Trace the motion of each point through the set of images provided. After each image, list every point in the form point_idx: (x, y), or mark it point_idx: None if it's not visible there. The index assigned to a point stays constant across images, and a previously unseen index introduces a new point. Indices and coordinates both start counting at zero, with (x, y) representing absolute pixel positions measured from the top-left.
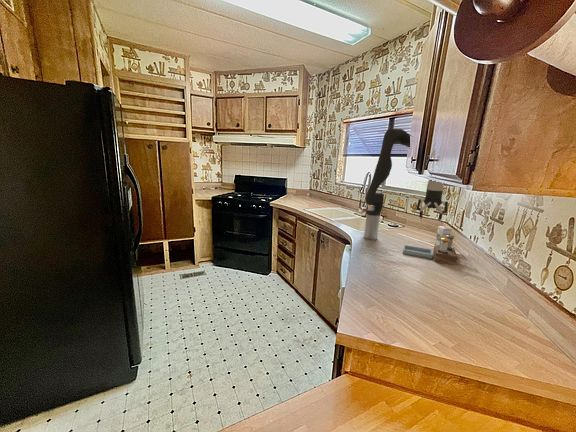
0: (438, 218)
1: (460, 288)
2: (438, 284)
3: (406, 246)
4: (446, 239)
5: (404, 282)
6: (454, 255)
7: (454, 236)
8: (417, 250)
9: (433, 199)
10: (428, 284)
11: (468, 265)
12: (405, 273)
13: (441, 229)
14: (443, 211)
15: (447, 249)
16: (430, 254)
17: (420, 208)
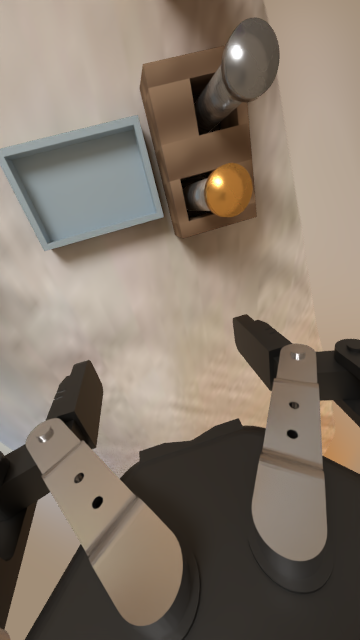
0: (237, 321)
1: (249, 368)
2: (211, 385)
3: (13, 155)
4: (235, 208)
5: (155, 429)
6: (246, 207)
7: (278, 51)
8: (76, 147)
9: None
10: (195, 401)
11: (277, 174)
12: (139, 394)
13: None
14: (326, 395)
15: (215, 122)
16: (154, 215)
17: (36, 480)
